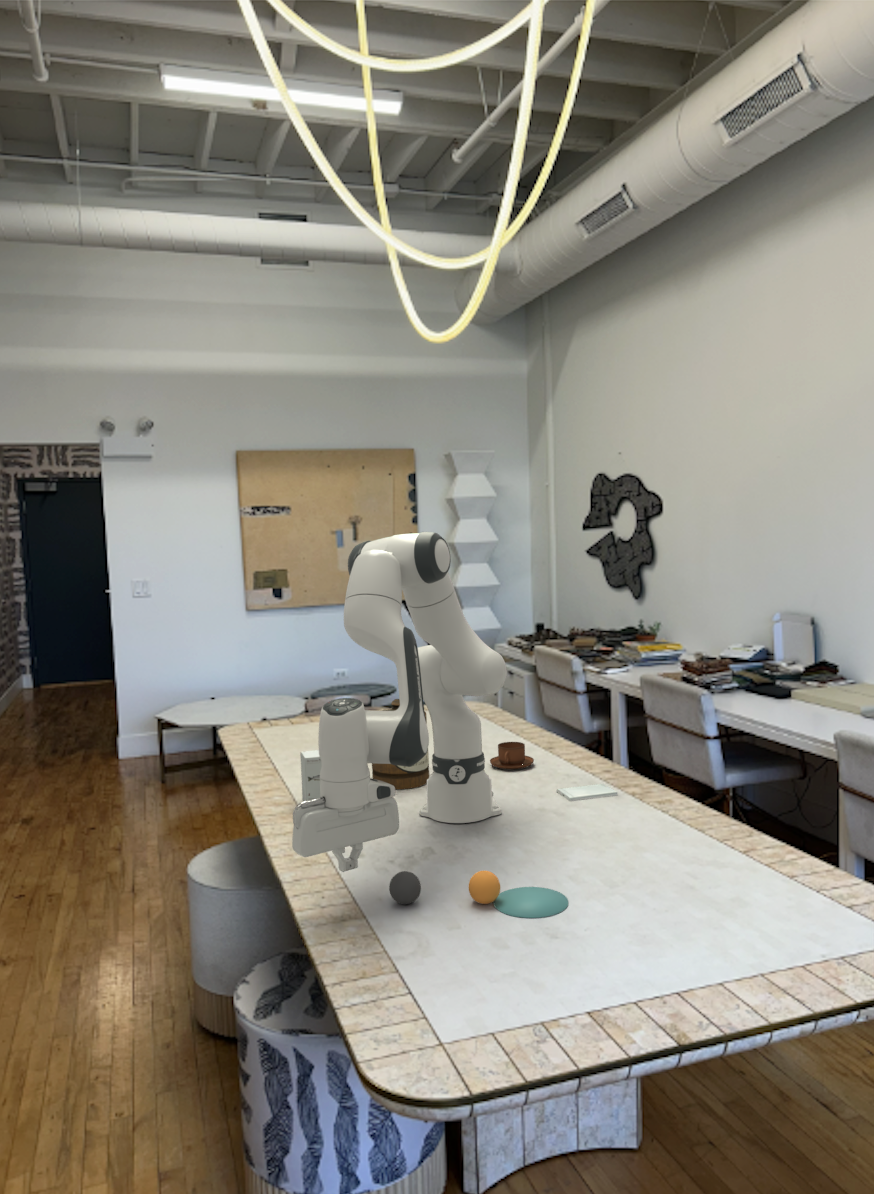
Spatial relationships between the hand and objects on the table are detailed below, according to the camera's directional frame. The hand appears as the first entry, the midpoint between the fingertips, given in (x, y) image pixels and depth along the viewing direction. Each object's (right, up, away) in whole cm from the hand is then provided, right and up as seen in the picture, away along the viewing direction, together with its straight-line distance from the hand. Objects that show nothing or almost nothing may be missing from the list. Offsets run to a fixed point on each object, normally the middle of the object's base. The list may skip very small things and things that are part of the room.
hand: (348, 869), depth 163 cm
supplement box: (-13, -3, +62) cm, 63 cm away
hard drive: (+52, -1, +62) cm, 81 cm away
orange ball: (+24, -3, -1) cm, 24 cm away
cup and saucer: (+36, +1, +90) cm, 97 cm away
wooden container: (+6, -1, +78) cm, 79 cm away
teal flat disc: (+32, -5, -2) cm, 33 cm away
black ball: (+10, -3, 0) cm, 11 cm away
